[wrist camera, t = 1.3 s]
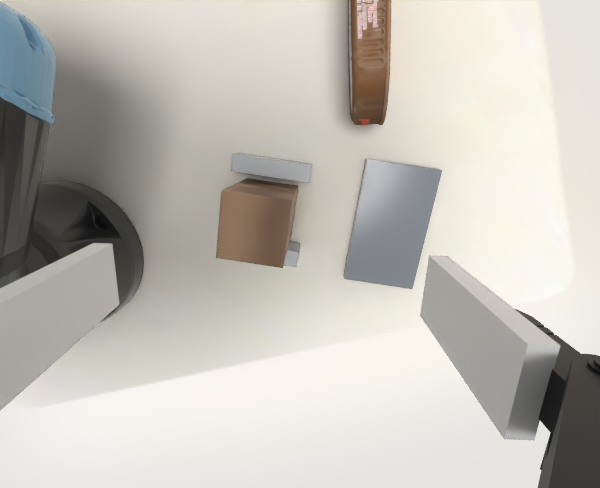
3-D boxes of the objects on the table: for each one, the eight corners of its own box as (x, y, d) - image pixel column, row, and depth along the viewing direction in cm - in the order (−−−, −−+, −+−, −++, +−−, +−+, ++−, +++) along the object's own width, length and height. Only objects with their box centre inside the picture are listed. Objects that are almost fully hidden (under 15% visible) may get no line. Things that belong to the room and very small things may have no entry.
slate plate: (343, 275, 37) (344, 278, 36) (366, 158, 33) (367, 158, 33) (410, 285, 37) (412, 288, 36) (439, 169, 33) (442, 170, 33)
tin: (377, 127, 33) (398, 121, 24) (343, 129, 33) (352, 123, 25) (379, -67, 29) (404, -152, 20) (340, -64, 29) (350, -147, 21)
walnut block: (242, 227, 36) (216, 257, 26) (247, 178, 34) (221, 190, 25) (291, 234, 36) (282, 267, 26) (298, 185, 34) (292, 201, 25)
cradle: (230, 247, 36) (223, 256, 33) (239, 153, 34) (232, 153, 31) (297, 257, 36) (296, 267, 33) (312, 164, 34) (311, 165, 31)
